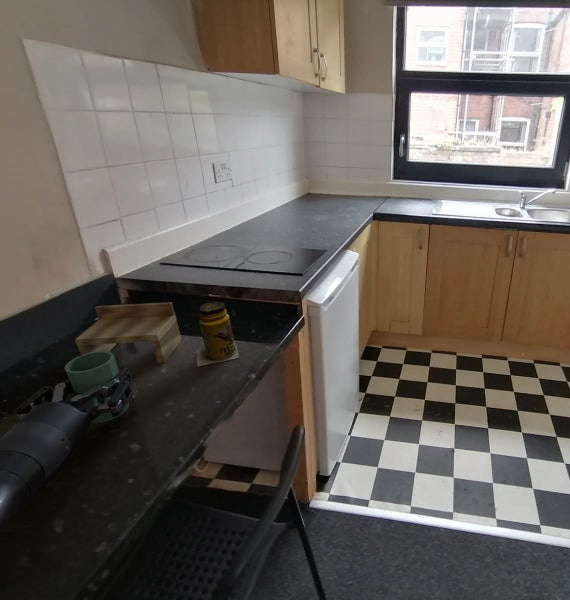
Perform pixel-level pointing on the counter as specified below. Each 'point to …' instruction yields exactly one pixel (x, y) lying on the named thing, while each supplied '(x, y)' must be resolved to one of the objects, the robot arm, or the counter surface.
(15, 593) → the counter surface
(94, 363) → the cup
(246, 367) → the counter surface
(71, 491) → the counter surface
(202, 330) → the condiment
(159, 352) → the shelf
